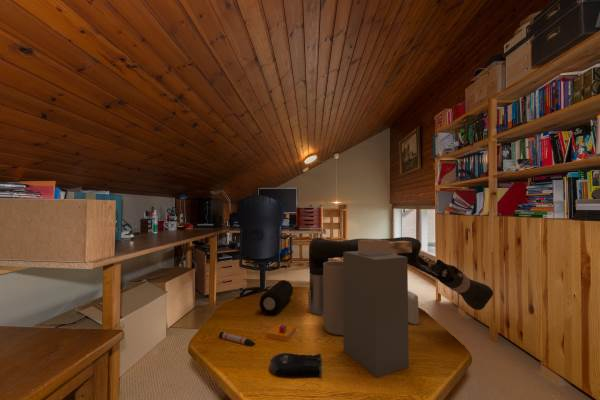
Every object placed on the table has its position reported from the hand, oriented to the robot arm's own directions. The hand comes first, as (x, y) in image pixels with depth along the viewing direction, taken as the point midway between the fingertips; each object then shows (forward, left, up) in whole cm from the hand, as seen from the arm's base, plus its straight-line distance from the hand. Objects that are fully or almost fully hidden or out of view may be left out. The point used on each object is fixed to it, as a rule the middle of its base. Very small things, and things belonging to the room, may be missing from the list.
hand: (426, 259), depth 94 cm
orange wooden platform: (-51, -8, -29) cm, 59 cm away
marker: (-64, -17, -29) cm, 72 cm away
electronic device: (-40, -27, -29) cm, 57 cm away
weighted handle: (-14, -12, +3) cm, 19 cm away
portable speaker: (-63, +20, -29) cm, 72 cm away
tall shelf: (-18, -15, -29) cm, 37 cm away
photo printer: (-5, +19, -29) cm, 35 cm away
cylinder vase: (-31, +3, -29) cm, 43 cm away
